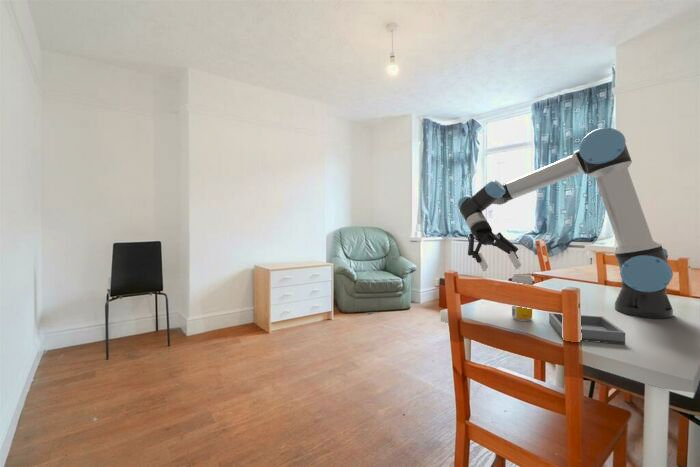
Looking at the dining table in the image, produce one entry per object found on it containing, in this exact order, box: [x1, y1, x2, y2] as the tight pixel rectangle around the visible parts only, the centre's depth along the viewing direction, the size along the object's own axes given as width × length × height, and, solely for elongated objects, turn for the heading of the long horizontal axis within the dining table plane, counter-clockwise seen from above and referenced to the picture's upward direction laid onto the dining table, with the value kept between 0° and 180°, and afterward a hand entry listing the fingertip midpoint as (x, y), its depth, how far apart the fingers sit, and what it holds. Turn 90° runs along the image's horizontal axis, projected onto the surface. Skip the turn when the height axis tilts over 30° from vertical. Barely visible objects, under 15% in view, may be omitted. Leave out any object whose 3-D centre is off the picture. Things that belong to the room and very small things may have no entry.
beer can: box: [511, 273, 533, 322], centre depth 109 cm, size 6×6×15 cm
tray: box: [548, 312, 626, 345], centre depth 95 cm, size 15×15×3 cm
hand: (502, 268), depth 118 cm, fingers open, 13 cm apart
